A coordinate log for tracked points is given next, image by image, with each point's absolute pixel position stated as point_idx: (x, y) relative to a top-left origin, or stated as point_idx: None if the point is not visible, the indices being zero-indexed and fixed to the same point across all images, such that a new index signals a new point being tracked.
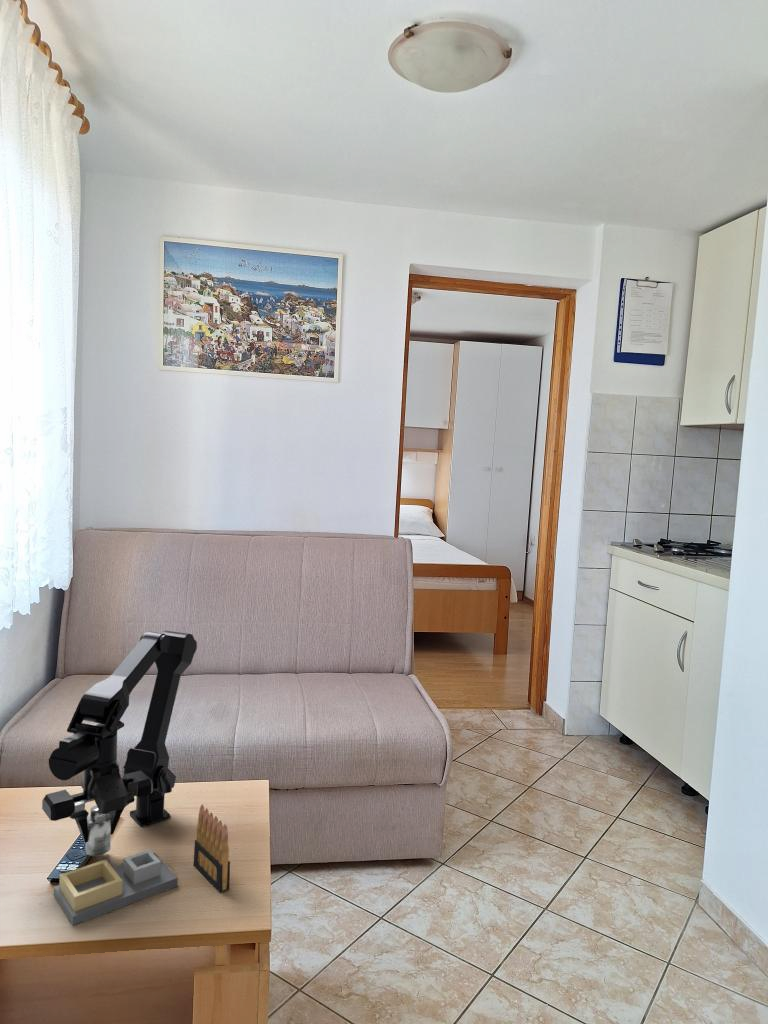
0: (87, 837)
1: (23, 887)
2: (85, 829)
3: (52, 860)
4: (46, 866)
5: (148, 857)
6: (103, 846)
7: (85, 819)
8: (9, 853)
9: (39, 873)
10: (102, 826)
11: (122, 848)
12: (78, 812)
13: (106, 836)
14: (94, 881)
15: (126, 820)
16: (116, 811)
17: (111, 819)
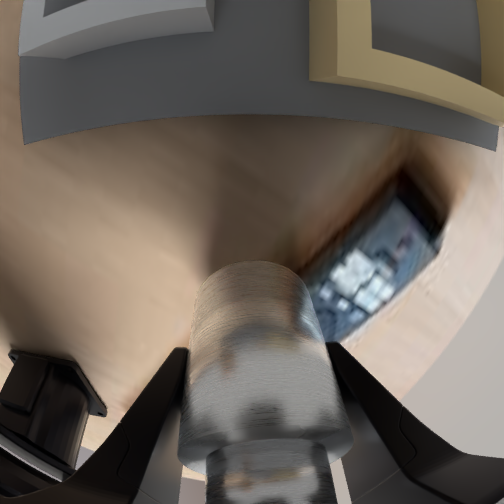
0: (336, 361)
1: (488, 245)
2: (376, 403)
3: (375, 335)
4: (403, 314)
5: (56, 4)
6: (250, 286)
7: (416, 467)
8: (410, 387)
9: (435, 289)
10: (272, 403)
11: (142, 292)
12: (501, 501)
13: (230, 331)
14: (384, 48)
15: (115, 399)
16: (134, 483)
17: (174, 431)
